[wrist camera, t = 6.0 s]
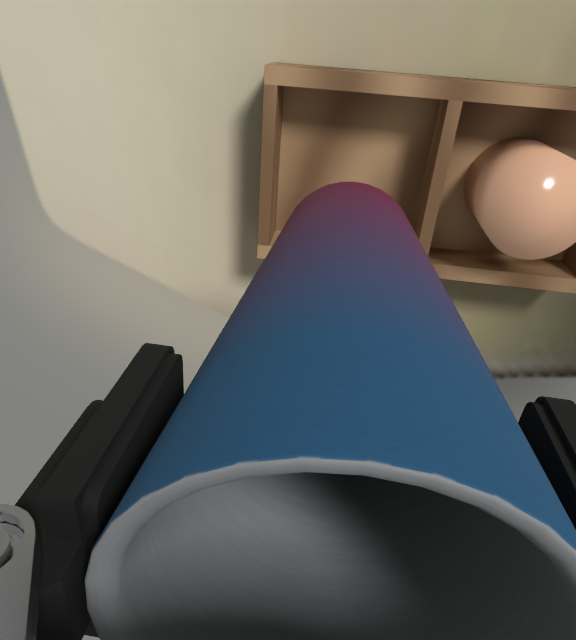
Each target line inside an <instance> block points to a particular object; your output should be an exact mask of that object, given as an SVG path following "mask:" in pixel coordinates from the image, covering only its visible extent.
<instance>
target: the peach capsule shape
mask: <svg viewBox="0 0 576 640" xmlns="http://www.w3.org/2000/svg"><path fill="white" fill-rule="evenodd" d="M464 196H465V200H466V203H467V206H468V208H469V210H470V211H471V213H472V214H473V216H474V217H475V219H476V220H477V222H478V223H479V225H480V226H481V227H482V229H483V230H484V232H485V233H486V235H487V236H488V238H489V239H490V241H491V242H492V243H493V244H494V246H495V247H496V248H497V249H499V250H500V251H501V252H503V253H504V254H506V255H509V256H511V257H514V258H518V259H524V260H535V259H542V258H546V257H550V256H553V255H555V254H558V253H560V252H562V251H564V250H565V249H567V248H568V247H570V246H571V245H573V244H574V243H575V242H576V160H574V159H572V158H571V157H569V156H567V155H565V154H563V153H561V152H559V151H558V150H556V149H554V148H552V147H550V146H548V145H546V144H544V143H543V142H541V141H538V140H536V139H533V138H529V137H511V138H507V139H504V140H501V141H498V142H496V143H494V144H492V145H491V146H489V147H488V148H486V149H485V150H484V151H483V152H482V153H481V154H480V155H479V156H478V157H477V158H476V159H475V161H474V162H473V163H472V165H471V167H470V168H469V171H468V173H467V176H466V179H465V184H464Z"/></svg>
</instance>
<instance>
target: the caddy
mask: <svg viewBox="0 0 576 640" xmlns="http://www.w3.org/2000/svg"><path fill="white" fill-rule="evenodd" d="M511 137H529V138H533V139H536V140H538V141H541V142H543V143H544V144H546V145H548V146H550V147H552V148H554V149H556V150H558V151H559V152H561V153H563V154H565V155H567V156H569V157H571V158H572V159H574V160H576V87H565V86H553V85H541V84H529V83H517V82H504V81H492V80H480V79H468V78H456V77H444V76H432V75H420V74H407V73H395V72H383V71H371V70H359V69H347V68H335V67H322V66H310V65H298V64H286V63H271V64H266V65H265V67H264V92H263V117H262V143H261V168H260V193H259V218H258V244H257V258H260V259H265V258H266V256H267V254H268V253H269V251H270V249H271V248H272V246H273V244H274V243H275V241H276V239H277V238H278V236H279V234H280V232H281V231H282V229H283V227H284V226H285V224H286V222H287V221H288V219H289V217H290V216H291V214H292V213H293V211H294V209H295V208H296V206H297V205H298V204H299V203H300V202H301V201H302V200H303V199H304V198H305V197H306V196H308V195H309V194H311V193H312V192H313V191H315V190H317V189H319V188H321V187H324V186H326V185H328V184H333V183H338V182H360V183H365V184H369V185H371V186H374V187H376V188H379V189H381V190H382V191H384V192H385V193H387V194H388V195H390V196H391V197H392V198H393V199H394V200H395V201H396V202H397V203H398V204H399V205H400V207H401V208H402V210H403V212H404V213H405V215H406V217H407V218H408V220H409V222H410V224H411V226H412V228H413V230H414V231H415V233H416V235H417V237H418V239H419V241H420V243H421V244H422V246H423V248H424V250H425V252H426V254H427V256H428V257H429V259H430V261H431V263H432V265H433V267H434V268H435V270H436V272H437V274H438V276H439V278H440V279H449V280H458V281H467V282H476V283H485V284H494V285H503V286H512V287H521V288H530V289H539V290H548V291H557V292H566V293H575V294H576V242H575V243H574V244H573V245H571V246H570V247H568V248H567V249H565V250H564V251H562V252H560V253H558V254H555V255H553V256H550V257H546V258H542V259H535V260H524V259H518V258H514V257H511V256H509V255H506V254H504V253H503V252H501V251H500V250H499V249H497V248H496V247H495V246H494V244H493V243H492V242H491V241H490V239H489V238H488V236H487V235H486V233H485V232H484V230H483V229H482V227H481V226H480V225H479V223H478V222H477V220H476V219H475V217H474V216H473V214H472V213H471V211H470V210H469V208H468V206H467V203H466V200H465V196H464V184H465V179H466V176H467V173H468V171H469V168H470V167H471V165H472V163H473V162H474V161H475V159H476V158H477V157H478V156H479V155H480V154H481V153H482V152H483V151H484V150H485V149H486V148H488V147H489V146H491V145H492V144H494V143H496V142H498V141H501V140H504V139H507V138H511Z"/></svg>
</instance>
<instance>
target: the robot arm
mask: <svg viewBox="0 0 576 640" xmlns="http://www.w3.org/2000/svg"><path fill="white" fill-rule="evenodd" d="M183 395H184V388H183V361H182V356H181V355H180V354H175V353H174V349H173V347H171V346H165V345H157V344H150V343H145V344H144V345H143V346H142V347H141V348H140V350H139V352H138V353H137V354H136V356H135V357H134V358H133V360H132V361H131V363H130V364H129V365H128V367H127V368H126V370H125V371H124V372H123V374H122V375H121V377H120V378H119V380H118V381H117V383H116V384H115V385H114V387H113V388H112V390H111V391H110V393H109V394H108V395H107V397H106V398H105V399H104V401H102V400H95V401H93V402H92V403H91V404H90V405H89V406H88V407H87V408H86V409H85V411H84V412H83V413H82V415H81V416H80V418H79V419H78V420H77V422H76V423H75V424H74V426H73V427H72V428H71V430H70V431H69V432H68V434H67V435H66V437H65V438H64V439H63V441H62V442H61V443H60V445H59V446H58V447H57V449H56V450H55V452H54V453H53V454H52V455H51V457H50V458H49V460H48V461H47V462H46V464H45V465H44V466H43V468H42V469H41V470H40V472H39V473H38V474H37V476H36V477H35V479H34V480H33V481H32V483H31V484H30V485H29V487H28V488H27V489H26V491H25V492H24V494H23V495H22V496H21V498H20V499H19V500H18V502H17V503H16V504H15V506H13V505H8V504H0V640H82V638H83V636H84V635H88V636H94V637H98V634H97V632H96V629H95V627H94V624H93V622H92V619H91V617H90V615H89V612H88V610H87V600H86V589H85V575H86V571H87V567H88V564H89V560H90V556H91V552H92V548H93V547H94V545H95V543H96V542H97V540H98V538H99V537H100V535H101V533H102V532H103V530H104V528H105V527H106V525H107V523H108V521H109V520H110V518H111V516H112V515H113V513H114V511H115V510H116V508H117V506H118V505H119V503H120V501H121V500H122V498H123V496H124V495H125V493H126V491H127V490H128V488H129V486H130V485H131V483H132V481H133V479H134V478H135V476H136V474H137V473H138V471H139V469H140V468H141V466H142V464H143V463H144V461H145V459H146V458H147V456H148V454H149V453H150V451H151V449H152V448H153V446H154V444H155V443H156V441H157V439H158V437H159V436H160V434H161V432H162V431H163V429H164V427H165V426H166V424H167V422H168V421H169V419H170V417H171V416H172V414H173V412H174V411H175V409H176V407H177V406H178V404H179V402H180V401H181V399H182V397H183ZM518 424H519V426H520V428H521V430H522V431H523V433H524V435H525V437H526V439H527V441H528V443H529V444H530V446H531V448H532V450H533V452H534V454H535V456H536V457H537V459H538V461H539V463H540V465H541V467H542V469H543V470H544V472H545V474H546V476H547V478H548V480H549V482H550V483H551V485H552V487H553V489H554V491H555V493H556V494H557V496H558V498H559V500H560V502H561V504H562V506H563V507H564V509H565V511H566V513H567V515H568V517H569V519H570V520H571V522H572V524H573V526H574V528H575V530H576V405H575V403H574V402H573V401H570V400H565V399H558V398H551V397H543V396H542V397H538V398H537V399H536V401H535V402H534V403H533V402H529V403H527V404H526V406H525V408H524V410H523V413H522V415H521V417H520V420H519V422H518Z"/></svg>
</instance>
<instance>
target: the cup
mask: <svg viewBox="0 0 576 640" xmlns="http://www.w3.org/2000/svg"><path fill="white" fill-rule="evenodd" d="M85 589H86V600H87V610H88V612H89V615H90V617H91V619H92V622H93V624H94V627H95V629H96V632H97V634H98V637H99V638H100V639H101V640H576V530H575V528H574V526H573V524H572V522H571V520H570V519H569V517H568V515H567V513H566V511H565V509H564V507H563V506H562V504H561V502H560V500H559V498H558V496H557V494H556V493H555V491H554V489H553V487H552V485H551V483H550V482H549V480H548V478H547V476H546V474H545V472H544V470H543V469H542V467H541V465H540V463H539V461H538V459H537V457H536V456H535V454H534V452H533V450H532V448H531V446H530V444H529V443H528V441H527V439H526V437H525V435H524V433H523V431H522V430H521V428H520V426H519V424H518V422H517V420H516V419H515V417H514V415H513V413H512V411H511V409H510V407H509V406H508V404H507V402H506V400H505V398H504V396H503V394H502V393H501V391H500V389H499V387H498V385H497V383H496V381H495V380H494V378H493V376H492V374H491V372H490V370H489V369H488V367H487V365H486V363H485V361H484V359H483V357H482V356H481V354H480V352H479V350H478V348H477V346H476V344H475V343H474V341H473V339H472V337H471V335H470V333H469V331H468V330H467V328H466V326H465V324H464V322H463V320H462V318H461V317H460V315H459V313H458V311H457V309H456V307H455V306H454V304H453V302H452V300H451V298H450V296H449V294H448V293H447V291H446V289H445V287H444V285H443V283H442V281H441V280H440V278H439V276H438V274H437V272H436V270H435V268H434V267H433V265H432V263H431V261H430V259H429V257H428V256H427V254H426V252H425V250H424V248H423V246H422V244H421V243H420V241H419V239H418V237H417V235H416V233H415V231H414V230H413V228H412V226H411V224H410V222H409V220H408V218H407V217H406V215H405V213H404V212H403V210H402V208H401V207H400V205H399V204H398V203H397V202H396V201H395V200H394V199H393V198H392V197H391V196H390V195H388V194H387V193H385V192H384V191H382V190H381V189H379V188H376V187H374V186H371V185H369V184H365V183H360V182H338V183H333V184H328V185H326V186H324V187H321V188H319V189H317V190H315V191H313V192H312V193H311V194H309V195H308V196H306V197H305V198H304V199H303V200H302V201H301V202H300V203H299V204H298V205H297V206H296V208H295V209H294V211H293V213H292V214H291V216H290V217H289V219H288V221H287V222H286V224H285V226H284V227H283V229H282V231H281V232H280V234H279V236H278V238H277V239H276V241H275V243H274V244H273V246H272V248H271V249H270V251H269V253H268V254H267V256H266V258H265V259H264V261H263V263H262V264H261V266H260V268H259V269H258V271H257V273H256V274H255V276H254V278H253V280H252V281H251V283H250V285H249V286H248V288H247V290H246V291H245V293H244V295H243V296H242V298H241V300H240V301H239V303H238V305H237V306H236V308H235V310H234V311H233V313H232V315H231V316H230V318H229V320H228V322H227V323H226V325H225V327H224V328H223V330H222V332H221V333H220V335H219V337H218V338H217V340H216V342H215V343H214V345H213V347H212V348H211V350H210V352H209V354H208V355H207V357H206V359H205V360H204V362H203V364H202V365H201V367H200V369H199V370H198V372H197V374H196V375H195V377H194V379H193V380H192V382H191V384H190V385H189V387H188V389H187V391H186V392H185V394H184V395H183V397H182V399H181V401H180V402H179V404H178V406H177V407H176V409H175V411H174V412H173V414H172V416H171V417H170V419H169V421H168V422H167V424H166V426H165V427H164V429H163V431H162V432H161V434H160V436H159V437H158V439H157V441H156V443H155V444H154V446H153V448H152V449H151V451H150V453H149V454H148V456H147V458H146V459H145V461H144V463H143V464H142V466H141V468H140V469H139V471H138V473H137V474H136V476H135V478H134V479H133V481H132V483H131V485H130V486H129V488H128V490H127V491H126V493H125V495H124V496H123V498H122V500H121V501H120V503H119V505H118V506H117V508H116V510H115V511H114V513H113V515H112V516H111V518H110V520H109V521H108V523H107V525H106V527H105V528H104V530H103V532H102V533H101V535H100V537H99V538H98V540H97V542H96V543H95V545H94V547H93V548H92V552H91V556H90V560H89V564H88V567H87V571H86V575H85Z"/></svg>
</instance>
